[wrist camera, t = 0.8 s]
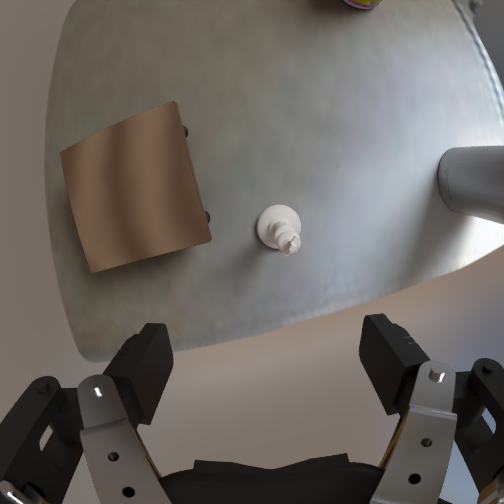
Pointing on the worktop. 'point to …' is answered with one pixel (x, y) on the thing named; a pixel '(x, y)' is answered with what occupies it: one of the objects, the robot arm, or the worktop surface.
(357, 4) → the supplement bottle
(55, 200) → the worktop surface
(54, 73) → the worktop surface
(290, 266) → the worktop surface
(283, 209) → the chess piece
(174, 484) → the robot arm
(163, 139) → the small wooden table
